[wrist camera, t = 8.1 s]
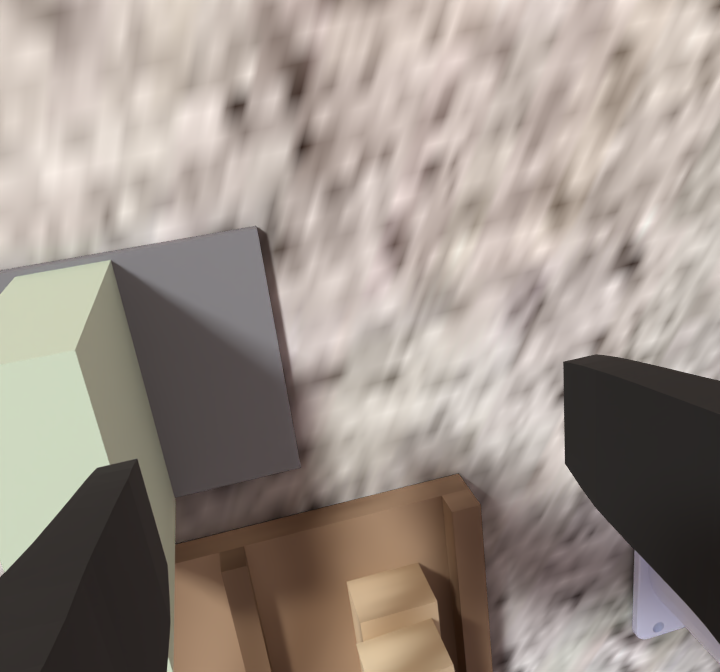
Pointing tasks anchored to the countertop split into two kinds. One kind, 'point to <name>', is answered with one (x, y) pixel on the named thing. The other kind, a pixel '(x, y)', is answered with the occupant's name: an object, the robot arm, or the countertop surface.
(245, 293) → the pad
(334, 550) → the walnut rack
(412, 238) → the countertop surface
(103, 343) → the pale green block
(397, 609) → the offcut stack
